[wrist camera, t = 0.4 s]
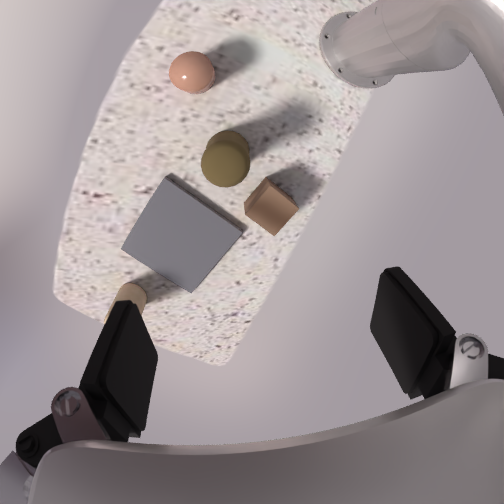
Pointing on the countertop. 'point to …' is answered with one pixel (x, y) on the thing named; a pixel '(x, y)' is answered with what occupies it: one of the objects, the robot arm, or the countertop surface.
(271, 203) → the walnut block
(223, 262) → the countertop surface
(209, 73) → the peach blob
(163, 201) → the slate tile
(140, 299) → the candle
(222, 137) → the olive tall rounded piece
